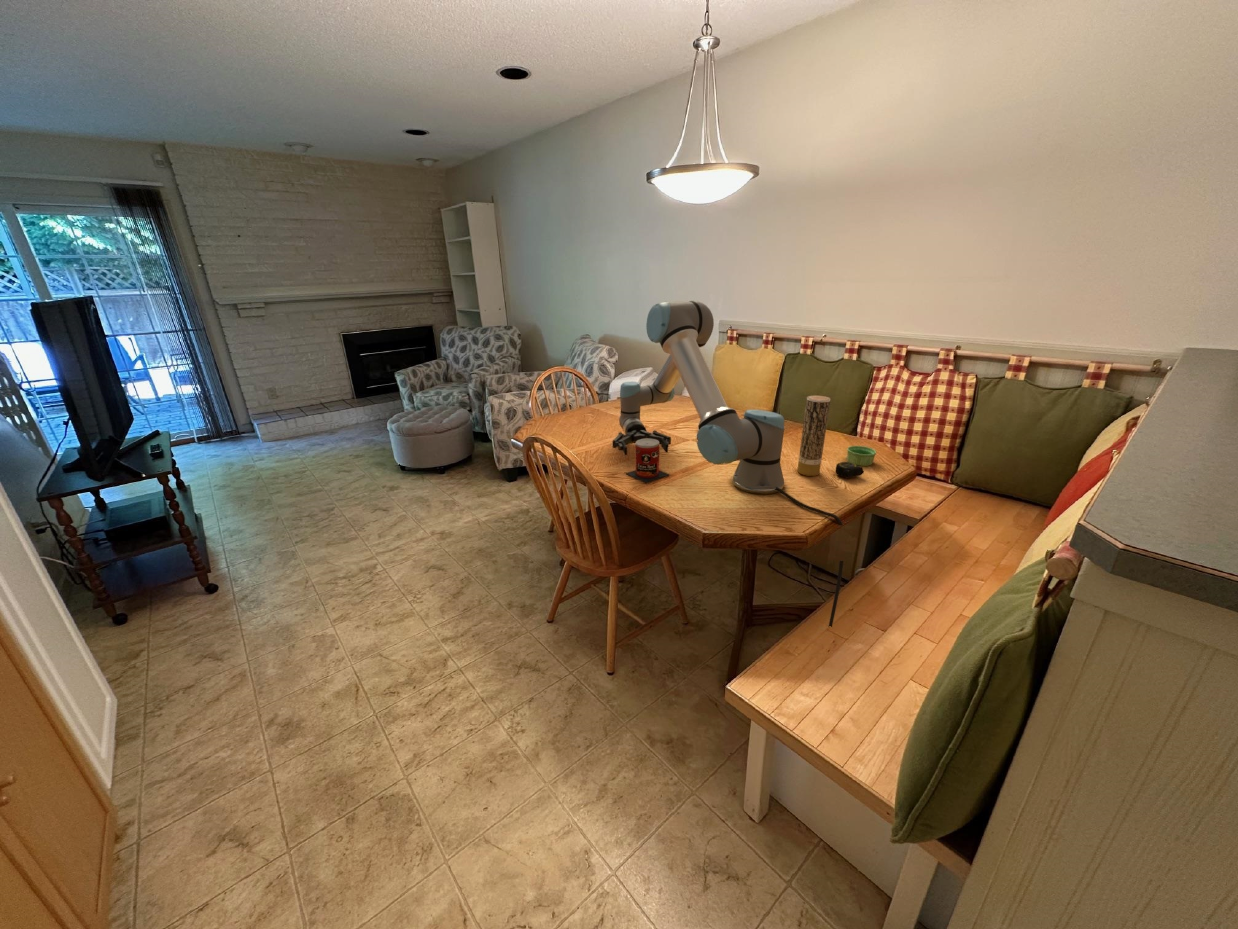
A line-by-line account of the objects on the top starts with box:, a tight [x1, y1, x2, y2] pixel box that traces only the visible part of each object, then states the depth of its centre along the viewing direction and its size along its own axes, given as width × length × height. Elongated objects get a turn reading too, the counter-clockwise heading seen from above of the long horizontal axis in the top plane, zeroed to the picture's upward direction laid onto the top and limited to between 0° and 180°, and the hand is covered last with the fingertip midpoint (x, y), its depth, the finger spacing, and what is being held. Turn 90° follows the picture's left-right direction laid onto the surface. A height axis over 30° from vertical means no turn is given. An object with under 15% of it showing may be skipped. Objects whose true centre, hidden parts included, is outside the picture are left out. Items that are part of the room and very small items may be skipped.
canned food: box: [634, 438, 661, 478], centre depth 155 cm, size 8×8×11 cm
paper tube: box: [797, 395, 831, 477], centre depth 152 cm, size 7×7×25 cm
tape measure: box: [835, 461, 865, 479], centre depth 153 cm, size 7×7×4 cm
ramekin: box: [846, 445, 877, 467], centre depth 164 cm, size 9×9×4 cm
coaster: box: [625, 469, 670, 484], centre depth 157 cm, size 10×10×1 cm
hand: (646, 450), depth 155 cm, fingers open, 13 cm apart
